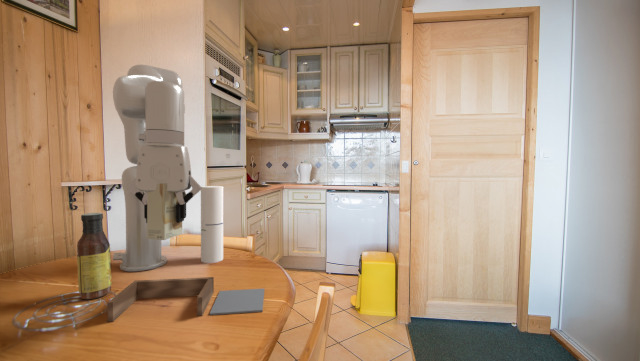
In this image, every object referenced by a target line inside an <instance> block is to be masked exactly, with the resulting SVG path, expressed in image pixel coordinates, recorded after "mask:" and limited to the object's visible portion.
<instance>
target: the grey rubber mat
mask: <svg viewBox="0 0 640 361" xmlns="http://www.w3.org/2000/svg"><path fill="white" fill-rule="evenodd" d="M264 299H265V288H248V289H233V290H230V289H229V290H219V292H218V294H217V297H216V298H215V301H214V302H213V305H212V307H211V309H210V311H209V316H218V315H232V314H233V315H235V314H247V313H248V314H249V313H251V314H252V313H261V312H262V313H263V311H264Z"/></svg>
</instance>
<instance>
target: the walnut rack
mask: <svg viewBox="0 0 640 361" xmlns="http://www.w3.org/2000/svg"><path fill="white" fill-rule="evenodd" d="M214 279H215V278H214V276H209V277H208V276H207V277H204V276H203V277H187V278H185V277H184V278H183V277H182V278H163V279H161V278H160V279H144V280H143V279H141V280H134V281H132V283H130V284H129V285H127V286H126V287H125V288H124V289H122V290H120V292H119V293H117V294H116V295H115V296H113V297H112V298H111V299H110V300H109V301H107V308H106V309H107V310H106V311H107V323H111V322H112V323H114V322H115V320H117V319H118V318H119V317H120V316H121V315H122V314H123V313H124V312H125V311H126V310H127V309H128V308H129V307H131V306H132V305H133V303H135V302H136V301H137V300H138V299H141V300H142V299H157V298H171V297H172V298H175V297H193V296H197V297H196V312H197V313H196V315H197V317H203V315H204V314H205V311H206V309H207V307H208V305H209V302H210V301H211V299H212V297H213V294H214V293H215V291H214V289H215V288H214V287H215V286H214V282H215V281H214Z"/></svg>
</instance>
